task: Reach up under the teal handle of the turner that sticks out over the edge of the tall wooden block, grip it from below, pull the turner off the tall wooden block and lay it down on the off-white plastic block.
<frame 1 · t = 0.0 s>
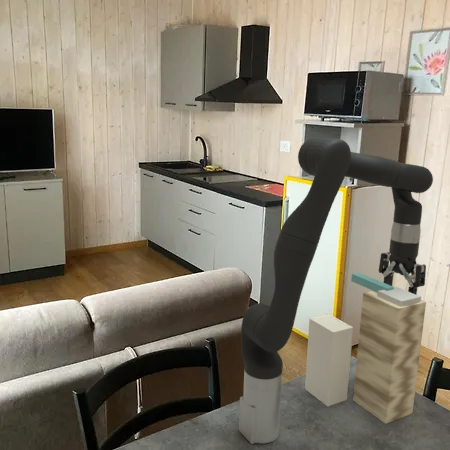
hand: (398, 294, 140), 29 cm above the table, tool pointing down, fingers open, 8 cm apart
white block: (325, 394, 143), on the table
tall wooden block: (382, 406, 137), on the table
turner: (386, 294, 132), point 32 cm above the table, touching tall wooden block
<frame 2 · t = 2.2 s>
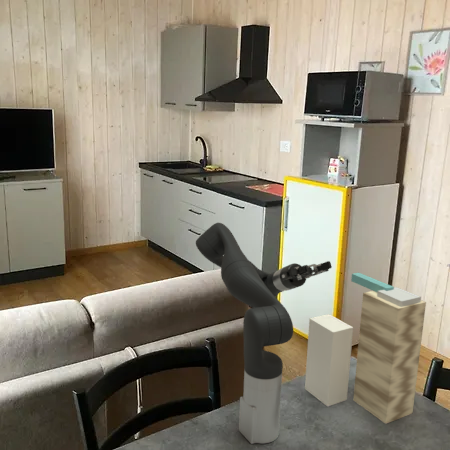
hand: (319, 266, 148), 34 cm above the table, tool pointing upward, fingers open, 8 cm apart
nothing on the table moved.
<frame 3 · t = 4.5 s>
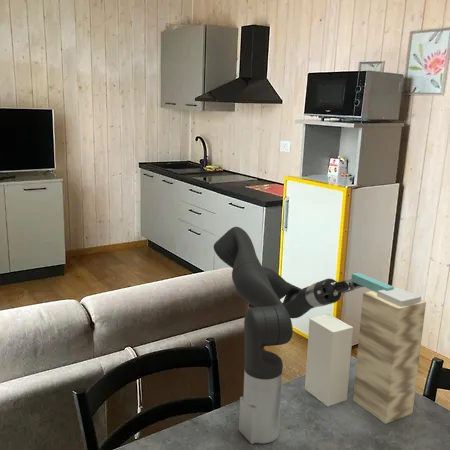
hand: (357, 282, 142), 32 cm above the table, tool pointing upward, fingers open, 8 cm apart
nothing on the table moved.
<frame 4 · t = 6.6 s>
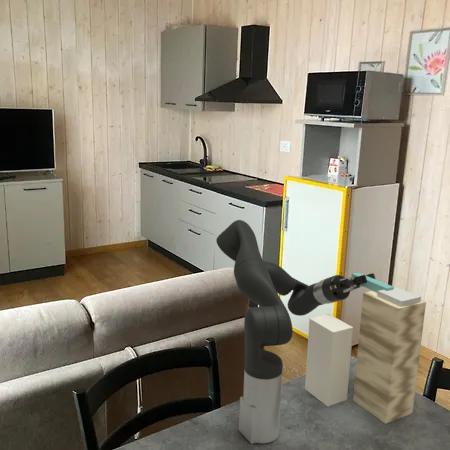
hand: (369, 277, 137), 35 cm above the table, tool pointing upward, fingers closed on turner, 2 cm apart
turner: (386, 294, 132), point 32 cm above the table, touching tall wooden block, gripper
everything else where it was.
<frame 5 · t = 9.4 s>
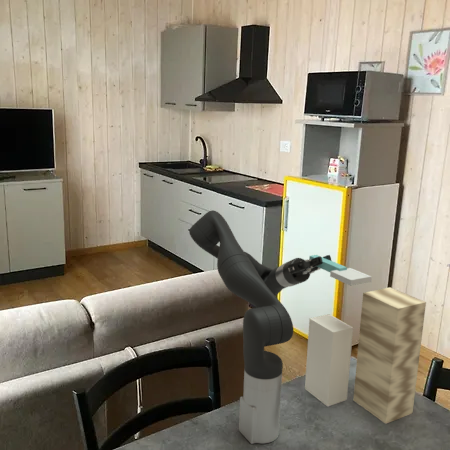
hand: (325, 259, 140), 38 cm above the table, tool pointing upward, fingers closed on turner, 2 cm apart
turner: (340, 274, 135), point 36 cm above the table, touching gripper
everything else where it was.
when the fingers open (26 cm above the table, at t = 12.2 s): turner drops 2 cm, resting on white block.
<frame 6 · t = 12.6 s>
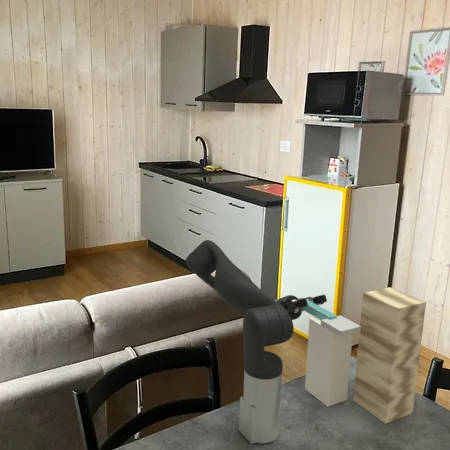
hand: (315, 300, 143), 26 cm above the table, tool pointing upward, fingers open, 6 cm apart
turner: (330, 322, 138), point 22 cm above the table, touching white block
everything else where it was.
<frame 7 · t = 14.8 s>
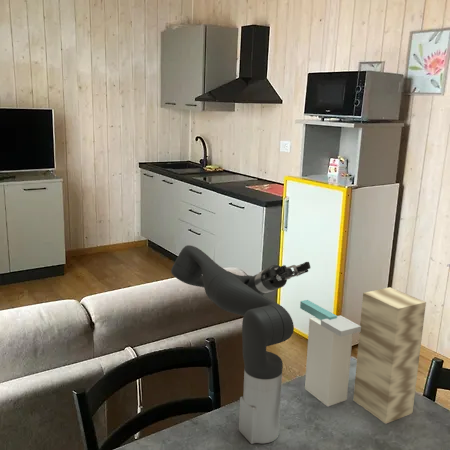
hand: (297, 266, 149), 33 cm above the table, tool pointing upward, fingers open, 8 cm apart
nothing on the table moved.
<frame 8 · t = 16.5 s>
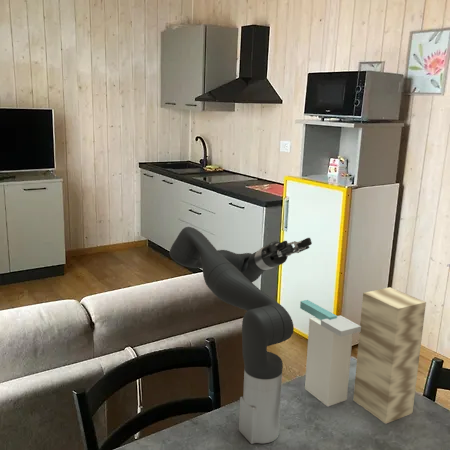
hand: (298, 242, 148), 41 cm above the table, tool pointing upward, fingers open, 8 cm apart
nothing on the table moved.
at the end: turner inside the target area (0.7 cm from its centre), point 22.0 cm above the table; the gripper is holding nothing; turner moved 17.1 cm from its start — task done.
